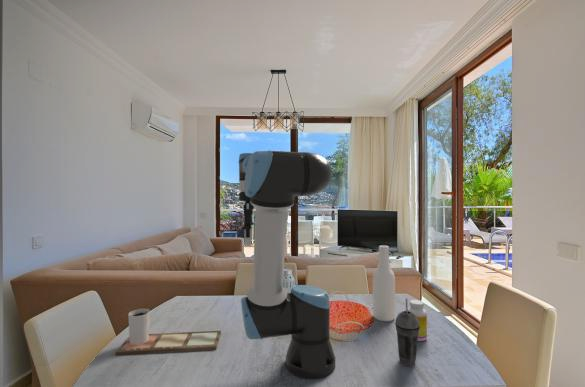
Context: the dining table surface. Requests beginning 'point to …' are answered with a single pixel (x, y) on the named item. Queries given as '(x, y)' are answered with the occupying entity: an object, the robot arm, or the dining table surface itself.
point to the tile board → (173, 343)
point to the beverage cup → (407, 336)
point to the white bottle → (383, 288)
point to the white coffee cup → (139, 326)
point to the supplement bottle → (419, 318)
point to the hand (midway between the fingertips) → (248, 243)
